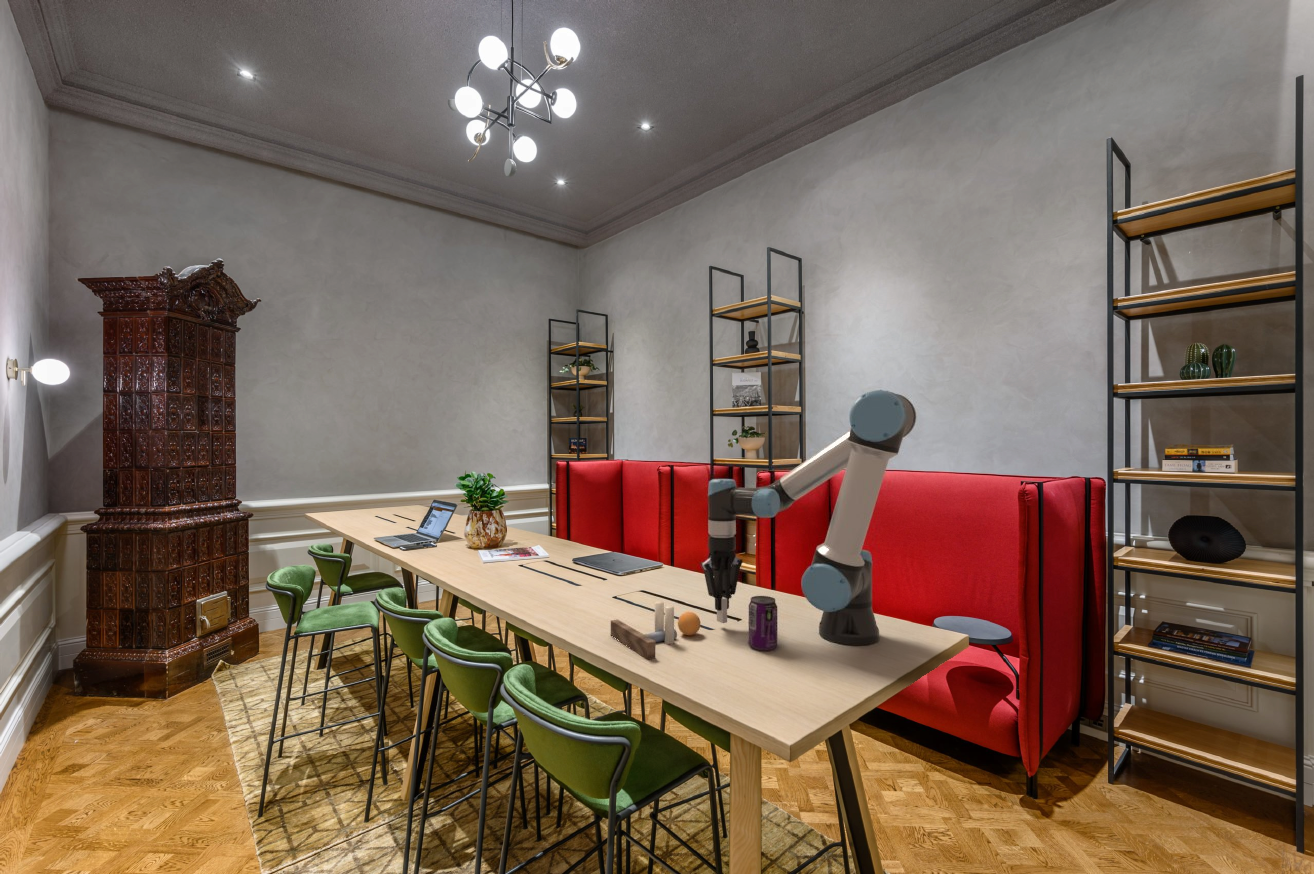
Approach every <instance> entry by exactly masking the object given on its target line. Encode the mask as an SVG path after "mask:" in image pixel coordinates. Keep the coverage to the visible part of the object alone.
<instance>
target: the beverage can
mask: <svg viewBox="0 0 1314 874" xmlns="http://www.w3.org/2000/svg"><path fill="white" fill-rule="evenodd" d="M778 642H779V641H778V605H777V603H776V598H774V597H771V596H768V595H754V596H751V597H750V602H749V603H748V645H749V646H750V647H752V648H753V649H755V650H759V651H771V650H773V649H775V648H777V647H778V644H779V643H778Z"/></svg>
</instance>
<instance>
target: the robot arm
mask: <svg viewBox="0 0 1314 874" xmlns="http://www.w3.org/2000/svg"><path fill="white" fill-rule="evenodd" d="M848 418H849V424H850V429H849V430H848V431H846V433H845V432H844V434H843V435H841V436H840V437H838V438H836V439H835V440H834V441H832V442H830V443H829V444H828V445H826V446H825V447H823V448H822V449H820V450H819V451H818V452H816V453H815V454H813V455H812V456H811V457H809V458H807V459H806V460H805V461H803V462H801V463H800V464H799V465H798V466H795V467H794V468H793V469H791V470H790V471H788V472H787V473H785V474H783V476H781V477H780V478H779V479H777V480H775V481H774V482H772V483H771V484H769V485H766V486H758V487H740V486H737V484H736V481H735V479H733V478H712V479H711V480H709V481H708V488H707V489H708V490H707V492H708V493H707V503H708V505H707V506H708V520H707V521H708V523H707V525H708V527H707V528H708V530H707V531H708V534H709V536H708V539H707V541H708V542H707V547H708V551H709V553H708V555H707V559H706V560H705V561H704V562H703V561H701V563H700V567H701V568H702V570H703V573H704V579H705V584H706V589H707V593H708V596H710V597H712V598H714V610H716V621H717V622H720V623H721V624H727V623H728V610H729V608H730V599H732V597H733V596H732V595H735V594H736V592H737V591H736V590H737V586H738V580H739V575H740V570H741V569H740V568H742V567H741V566H742V564H743V562H744V560H743V559H741V558H738V557H737V556H736V555H737V554H736V551H735V550H736V549H737V547H736V546H737V545H736V544H737V542H736V538H737V537H736V536H735V535H736V534H737V531H736V530H737V527H736V526H737V523H736V521H737V519H736V518H737V517H736V516H745V517H747V516H748V517H756V518H762V519H764V518H774V517H776V515H777V514H778V513H779V512H783V511H785V510H787V509H789V507H791V506H792V504H793V503H795V502H796V501H797V500H799V499H801V498H803V496H805V495H807V494H808V493H810V492H812V491H813V490H814V489H816V488H817V487H818V486H820V485H822V484H823V483H825V482H827V481H828V480H831V478H833V477H834V476H836V475H837V474H839V473H840V472H842V471H843V470H845V472H844V476H843V478H842V481H841V485H840V488H839V493H838V496H837V499H836V503H835V505H834V509H833V513H832V516H831V519H830V521H829V526H828V530H827V532H826V533H827V534H826V537H825V540H824V542H823V543H821V544H819V545H817V546H816V549H815V551H814V555H813V558H812V561H811V565H810V566H808V567H807V568H806V570H805V571H804V573H803V574H802V577H801V580H800V581H801V582H800V583H801V584H800V585H801V590H802V593H803V595H804V597H805V598H806V600H807V602H808V603H809V604H811V606H813V607H814V608H816V609H817V610H819V611H822V615H821V618H820V621H819V625H818V634H819V636H820V637H822V639H824V640H827V641H830V642H833V643H837V644H841V645H849V646H866V645H872V644H875V643H878V642H880V628H879V626H878V625H877V621H876V617H875V614H874V611H873V565H874V564H873V559H872V554H871V552H870V551H869V550H865V549H863V546H864V544H865V543H864V542H865V539H866V537H867V532H868V530H869V526H870V523H871V520H872V517H873V513H874V510H875V507H876V502H877V500H878V496H879V493H880V490H881V487H882V483H883V480H884V477H885V473H886V469H887V467H888V463H889V461H890V459H891V458H894V457H896V456H897V455H899V452H900V448H901V444H902V442H903V439H904V438H905V437H906V436H908V435H909V434H910V433H911V431H912V430H913V429H914V427H915V424H916V421H917V412H916V408H915V406H914V404H913V403H912V402H911V401H910V400H909V398H907V397H905V396H903V395H901V394H899V393H895V392H893V391H892V392H891V391H889V390H882V389H880V390H871V391H869V392H865V393H864V394H861V395H860V396H859V397H858V398H857V399H856V400H855V401H854V402H853V404H852V406H851V407H850V411H849V417H848Z"/></svg>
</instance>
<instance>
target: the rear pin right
mask: <svg viewBox="0 0 1314 874" xmlns="http://www.w3.org/2000/svg"><path fill="white" fill-rule="evenodd" d="M660 631H665V602H664V601H655V602H654V633H655V632H660Z"/></svg>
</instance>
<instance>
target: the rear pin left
mask: <svg viewBox="0 0 1314 874" xmlns="http://www.w3.org/2000/svg"><path fill="white" fill-rule="evenodd" d="M674 629H675V606H671V605H666V606H664V631H665V641H664V644H666V645H673V644H674V643H675V639H674Z"/></svg>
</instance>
